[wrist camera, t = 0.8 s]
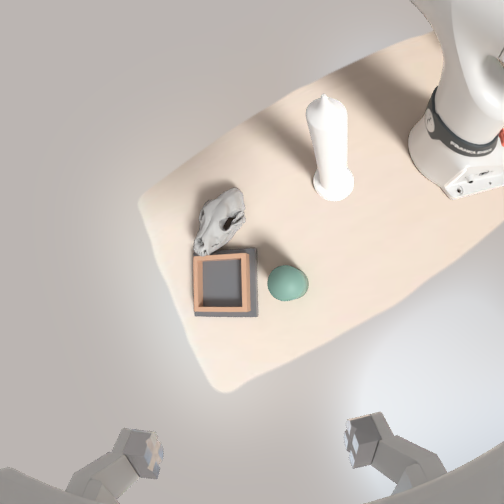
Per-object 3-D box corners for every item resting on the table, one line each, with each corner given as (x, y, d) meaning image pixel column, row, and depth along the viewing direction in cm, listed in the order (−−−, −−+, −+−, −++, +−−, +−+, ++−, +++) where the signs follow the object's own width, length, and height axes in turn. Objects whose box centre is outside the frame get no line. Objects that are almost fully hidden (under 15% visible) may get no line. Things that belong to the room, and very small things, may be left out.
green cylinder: (307, 268, 48) (301, 264, 41) (309, 298, 47) (303, 300, 40) (278, 269, 50) (266, 266, 42) (279, 299, 49) (268, 301, 41)
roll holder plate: (256, 248, 51) (251, 246, 48) (258, 316, 49) (253, 318, 47) (196, 253, 54) (188, 251, 51) (197, 315, 53) (189, 317, 50)
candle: (307, 192, 50) (276, 112, 26) (322, 157, 50) (303, 63, 26) (344, 207, 47) (346, 134, 24) (359, 172, 47) (368, 81, 24)
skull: (258, 193, 49) (218, 232, 42) (250, 231, 56) (215, 271, 48) (219, 177, 51) (176, 211, 44) (216, 214, 58) (178, 250, 50)
